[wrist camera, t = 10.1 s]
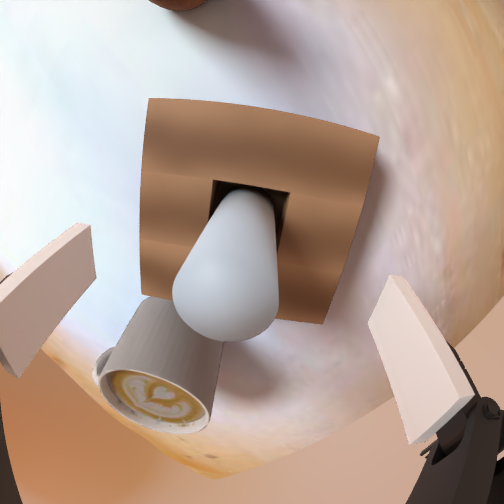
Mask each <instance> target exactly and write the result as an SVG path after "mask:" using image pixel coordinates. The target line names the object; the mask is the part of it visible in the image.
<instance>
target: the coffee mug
mask: <svg viewBox="0 0 504 504" xmlns="http://www.w3.org/2000/svg"><path fill="white" fill-rule="evenodd" d="M223 344H224V341H218V340H214V339H211V338H208V337H205V336H203V335H201V334H199V333H198V332H196V331H194V330H193V329H192V328H190V327H189V326H188V325H187V324H186V323H185V322H184V321H183V320H182V318H181V317H180V315H179V314H178V312H177V310H176V308H175V305H174V302H173V301H171V300H166V299H161V298H157V297H152V296H151V297H149V298H147V299H145V300H144V301H143V302H142V303H141V304H140V305H139V307H138V309H137V310H136V312H135V314H134V315H133V317H132V319H131V320H130V322H129V324H128V325H127V327H126V329H125V331H124V332H123V334H122V336H121V338H120V339H119V341H118V343H117V345H116V346H115V347H112V348H110V349H108V350H107V351H105V352H104V353H103V354H102V355H101V356H100V357H99V359H98V360H97V362H96V364H95V366H94V368H93V372H92V377H93V380H94V382H95V383H96V385H97V386H98V387H99V390H100V392H101V394H102V396H103V397H104V399H105V400H106V401H107V402H108V403H109V405H110V406H111V407H113V408H114V409H115V410H116V411H117V412H119V413H120V414H121V415H123V416H124V417H126V418H127V419H129V420H131V421H133V422H135V423H137V424H139V425H141V426H144V427H146V428H149V429H152V430H155V431H159V432H164V433H169V434H191V433H195V432H199V431H201V430H202V429H204V428H205V427H206V426H207V425H208V423H209V421H210V417H211V412H212V406H213V401H214V395H215V389H216V383H217V378H218V372H219V366H220V360H221V355H222V349H223Z"/></svg>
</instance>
